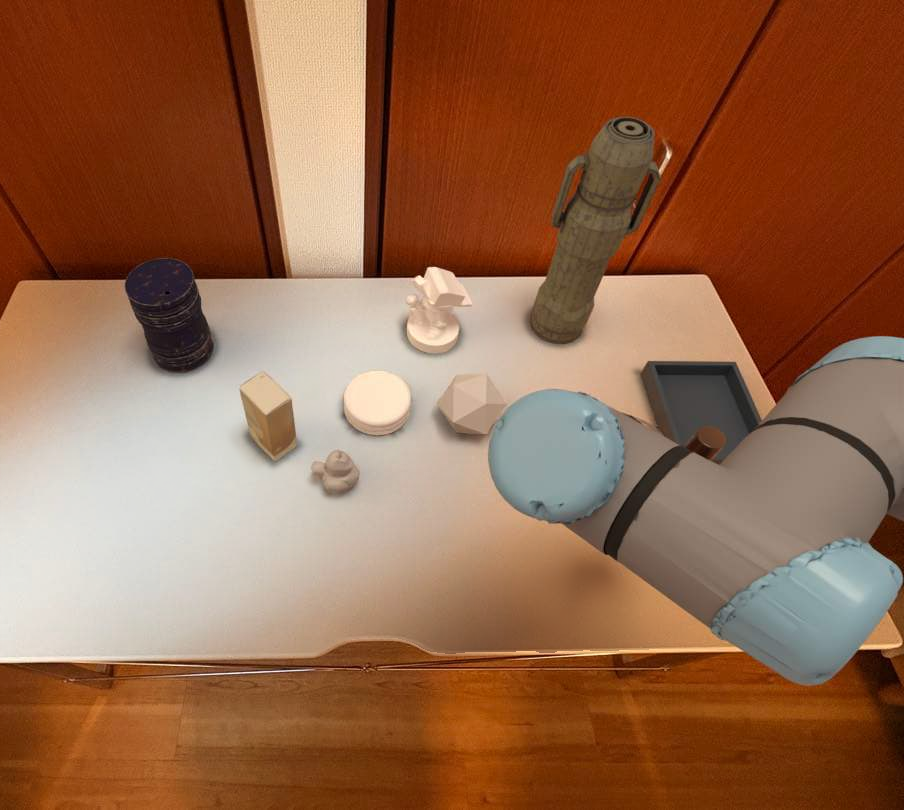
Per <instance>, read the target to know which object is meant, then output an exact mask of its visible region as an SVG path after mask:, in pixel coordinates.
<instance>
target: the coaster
mask: <svg viewBox="0 0 904 810" xmlns="http://www.w3.org/2000/svg"><path fill="white" fill-rule="evenodd" d="M411 408H412V394H411V389H410V388H409V386H408V385H407V383H406V382H405V381H404V380H403V379H402V378H401V377H400V376H398V375H396V374H395V373H392V372H389V371H386V370H378V369H377V370H369V371H365V372H362V373H360V374H358V375H356V376H355V377H353V378H352V379H351V380H350V381H349V383H348V384H347V385H346V387H345V389H344V393H343V413H344V415H345V417H346V419H347V421H348V423H350V425H351V426H352V427H354V428H355V429H356V430H357V431H359V432H361V433H364V434H366V435H371V436H385V435H389V434H391V433H394V432H396V431H398V430H400V429H401V428H402V427H403V426H404V425H405V423H406V422H407V421H408V418H409V417H410V414H411Z"/></svg>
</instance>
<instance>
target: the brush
mask: <svg viewBox="0 0 904 810" xmlns="http://www.w3.org/2000/svg"><path fill="white" fill-rule="evenodd" d="M725 444H726V438H725V435H724V434H723V433H722V432H721V431H720V430H719V429H717V428H715V427H712V426H703V427H701V428H699V429H698V431H697V432H696V433H695V434H694V436H693V437H692V438H691V439H690V440H689V442H688V443H687V444H686V445H685V448H687V449H689V450H691V451H693V452H695V453H696V454H698V455H700V456H702V457H704V458H705V459H707V460H710V461H711V460H712V459H713V458H714V457H715V456H716V455H717V454H718V452H719V451H720V450H721V449H722V448H723V447H724V446H725Z"/></svg>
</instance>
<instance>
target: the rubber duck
mask: <svg viewBox="0 0 904 810" xmlns="http://www.w3.org/2000/svg"><path fill="white" fill-rule="evenodd" d="M310 470H311V472H312V474H313V476H314V478H315V479H317V480H322V483H323V485H324V487H325V489H326V491H327V492H329V493H334V494H335V493H337V494H341V493H342V492H345V491H348V490H350V489H352V488H353V487H354V486H355V485H357V483H358V481H359V479H360V470H359V467H358V466H357V465H356V464H355V463H354V460H353V458H352V457H350V455H349V454H347V452H345V451H344V450H340V449H336V450H333V451H331V452H330V453H329V454H328V456H327V457H326V459H325V462H322V461H317V460H315V461H313V462H312V463H311V466H310Z"/></svg>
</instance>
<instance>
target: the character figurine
mask: <svg viewBox="0 0 904 810" xmlns="http://www.w3.org/2000/svg"><path fill="white" fill-rule="evenodd" d="M410 283H411V284H412V285H414V286H413V288H414V289H416V290H417V291H418V292H419V293H421V294H422V298H421V299H420V298H419V296H418V294H415V293H413V294H409V296H407V298H406V300H405V302H406V304H407V306H409V308H408V311H409V313H410V315H409V317H408V319H407V323H406V337H407V339H408V342H409V343H410V344H411V345H412V346H413V347H414V348H415V349H417V350H419V351H420V352H423V353H428V354H436V355H437V354H443V353H445V352H447V351H450V350H451V349H452V348H453V347H454V346H455V345H456V343H457V341H458V337H459V332H460V324H459V321H458V319H457V317H456V315H454V314H453V308H455V307H457V308H458V307H462V308H463V307H466V308H467V307H468V308H469V307H472V306H473V302H472V299H471V298H470V295H469V294H468V292H467V290H466V288H465V287H464V285H463V283H459V281H458V278H457V277H456V276H455V273H453V271H450V270H447V269H444V268H440V267H436V266H428V267H427V268H426V270H425V274H424V276H423V277H422V276H421V275H416V276H415V277H413V279H412V280H411V281H410Z"/></svg>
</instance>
